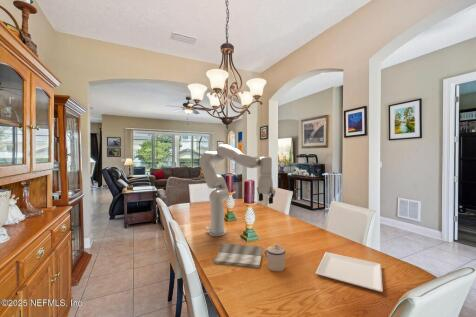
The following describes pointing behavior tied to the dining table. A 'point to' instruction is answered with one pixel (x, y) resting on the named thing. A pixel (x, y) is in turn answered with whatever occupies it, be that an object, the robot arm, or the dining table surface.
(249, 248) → the folded checkered cloth
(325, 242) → the dining table surface
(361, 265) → the plate
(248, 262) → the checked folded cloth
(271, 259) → the teacup with lid
